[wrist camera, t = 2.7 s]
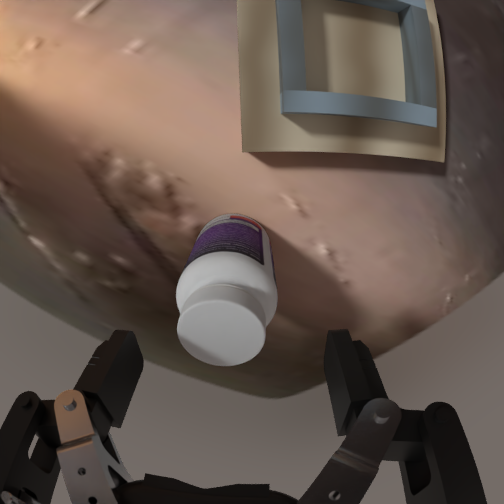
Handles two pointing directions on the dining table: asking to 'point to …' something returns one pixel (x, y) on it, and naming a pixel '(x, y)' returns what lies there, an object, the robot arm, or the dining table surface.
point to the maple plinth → (342, 77)
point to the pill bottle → (227, 292)
